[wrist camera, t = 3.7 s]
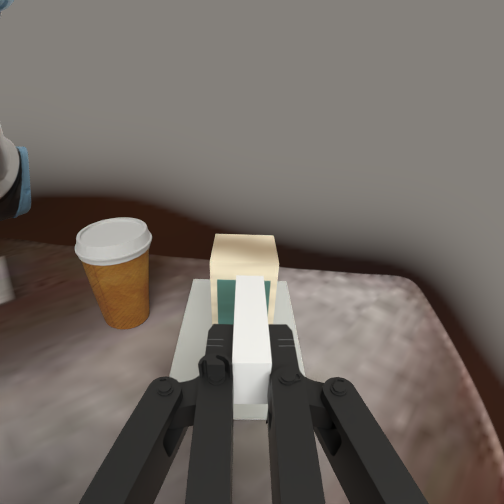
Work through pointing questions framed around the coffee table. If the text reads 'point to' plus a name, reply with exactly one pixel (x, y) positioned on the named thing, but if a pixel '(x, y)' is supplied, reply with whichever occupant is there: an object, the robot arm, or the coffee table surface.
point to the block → (241, 271)
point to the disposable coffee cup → (117, 268)
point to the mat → (196, 335)
